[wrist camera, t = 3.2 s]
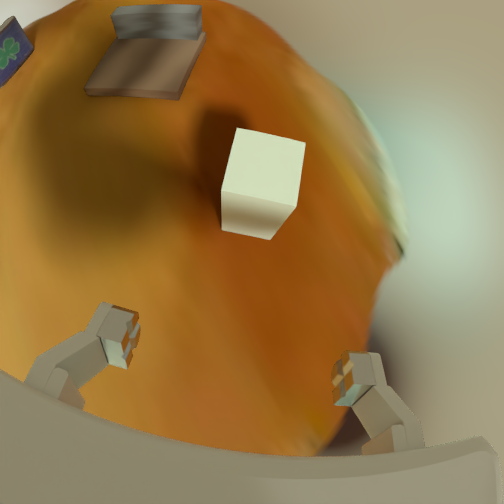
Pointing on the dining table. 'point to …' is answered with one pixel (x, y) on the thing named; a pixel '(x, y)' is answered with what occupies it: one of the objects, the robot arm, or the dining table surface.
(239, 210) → the cabinet block
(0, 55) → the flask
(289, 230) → the dining table surface
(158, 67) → the display stand
